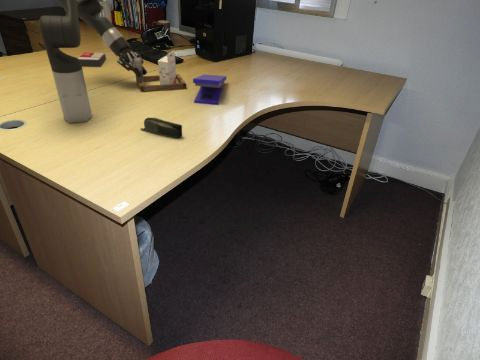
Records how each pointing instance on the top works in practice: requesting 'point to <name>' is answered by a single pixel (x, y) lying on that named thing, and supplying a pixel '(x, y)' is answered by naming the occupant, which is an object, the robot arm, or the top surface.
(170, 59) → the ink cartridge box
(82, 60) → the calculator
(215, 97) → the stapler
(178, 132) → the black desk stapler
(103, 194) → the top surface
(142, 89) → the rectangular wooden frame
